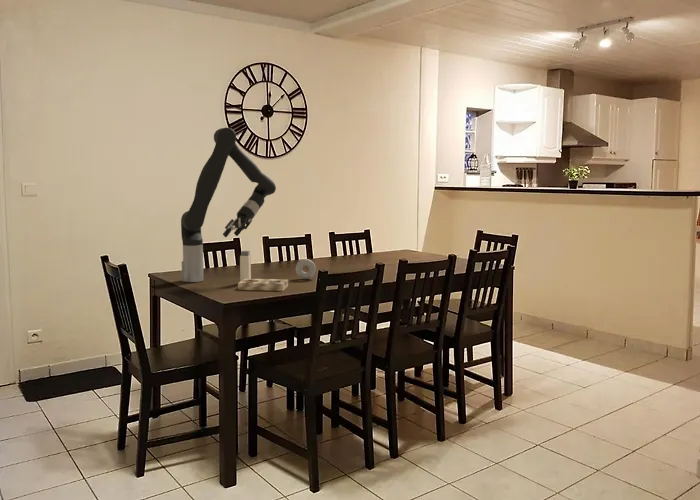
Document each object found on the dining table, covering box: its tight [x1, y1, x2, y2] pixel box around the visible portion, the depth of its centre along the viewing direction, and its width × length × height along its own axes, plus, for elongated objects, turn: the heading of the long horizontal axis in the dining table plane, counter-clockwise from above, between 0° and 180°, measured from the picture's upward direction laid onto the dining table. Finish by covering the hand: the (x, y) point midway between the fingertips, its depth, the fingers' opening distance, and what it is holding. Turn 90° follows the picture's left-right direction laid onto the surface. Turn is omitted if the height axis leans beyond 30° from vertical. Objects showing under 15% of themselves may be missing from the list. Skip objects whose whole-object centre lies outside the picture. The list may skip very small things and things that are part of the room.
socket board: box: [237, 278, 289, 292], centre depth 281 cm, size 20×12×3 cm, turn 85°
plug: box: [239, 250, 252, 282], centre depth 293 cm, size 4×4×15 cm
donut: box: [295, 258, 317, 280], centre depth 306 cm, size 10×4×10 cm, turn 86°
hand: (229, 235), depth 293 cm, fingers open, 8 cm apart
